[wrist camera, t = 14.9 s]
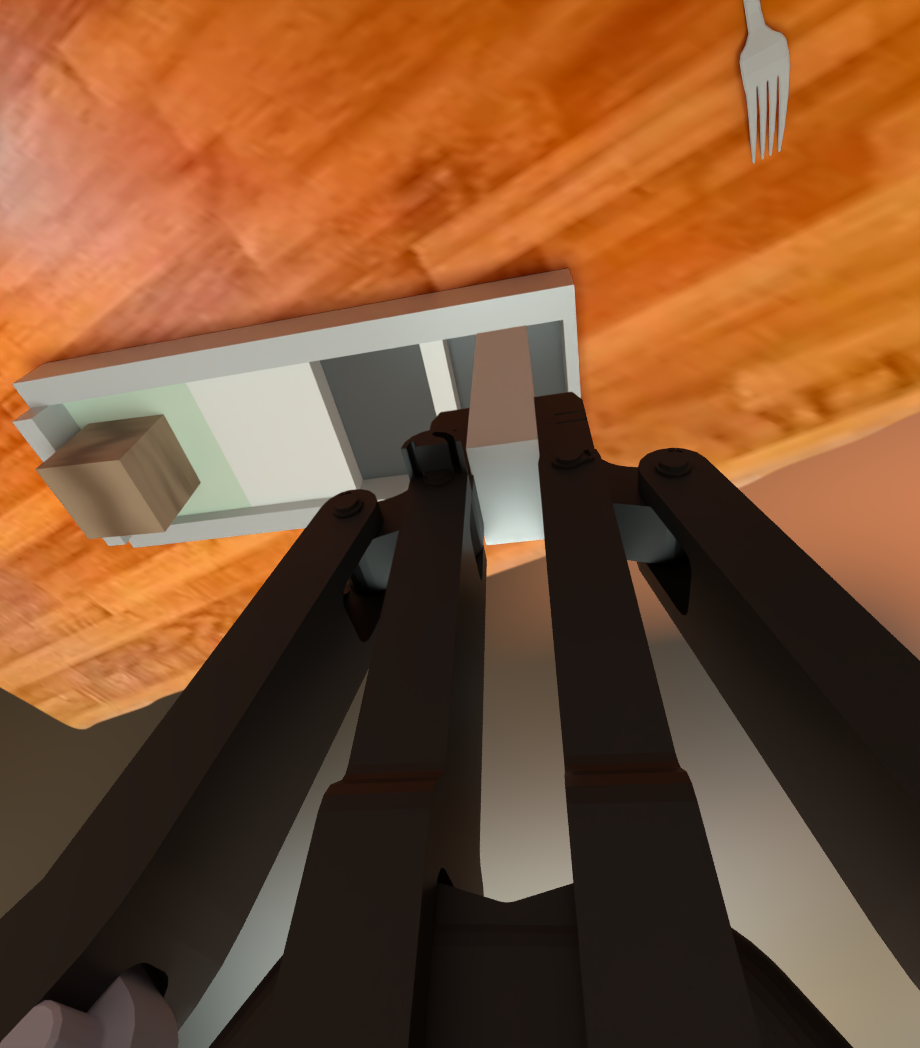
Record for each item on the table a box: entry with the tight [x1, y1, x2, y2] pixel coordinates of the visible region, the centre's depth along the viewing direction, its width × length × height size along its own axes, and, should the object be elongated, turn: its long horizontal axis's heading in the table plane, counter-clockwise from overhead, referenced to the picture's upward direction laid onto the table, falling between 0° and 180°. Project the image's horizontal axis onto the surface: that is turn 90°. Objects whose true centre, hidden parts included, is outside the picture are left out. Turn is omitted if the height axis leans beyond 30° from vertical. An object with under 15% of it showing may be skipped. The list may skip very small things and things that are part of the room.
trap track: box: [13, 268, 581, 548], centre depth 53 cm, size 50×20×7 cm, turn 101°
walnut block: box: [36, 414, 201, 539], centre depth 53 cm, size 8×8×8 cm
